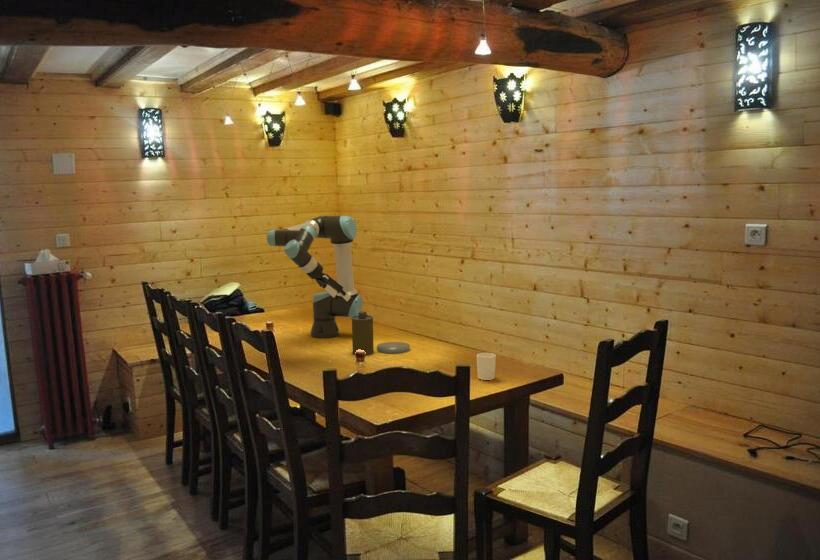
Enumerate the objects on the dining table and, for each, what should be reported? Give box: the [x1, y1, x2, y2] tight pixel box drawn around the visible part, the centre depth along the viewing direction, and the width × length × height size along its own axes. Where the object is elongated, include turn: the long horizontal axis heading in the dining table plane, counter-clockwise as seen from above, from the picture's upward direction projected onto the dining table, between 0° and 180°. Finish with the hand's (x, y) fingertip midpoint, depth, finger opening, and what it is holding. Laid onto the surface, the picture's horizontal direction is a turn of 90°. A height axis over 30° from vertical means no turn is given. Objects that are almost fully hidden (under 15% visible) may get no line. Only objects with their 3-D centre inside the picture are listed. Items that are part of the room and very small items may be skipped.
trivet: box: [376, 341, 411, 355], centre depth 329 cm, size 16×16×2 cm
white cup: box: [476, 352, 497, 381], centre depth 279 cm, size 8×8×10 cm
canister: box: [350, 310, 375, 356], centre depth 323 cm, size 11×10×20 cm
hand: (342, 297), depth 317 cm, fingers open, 13 cm apart
